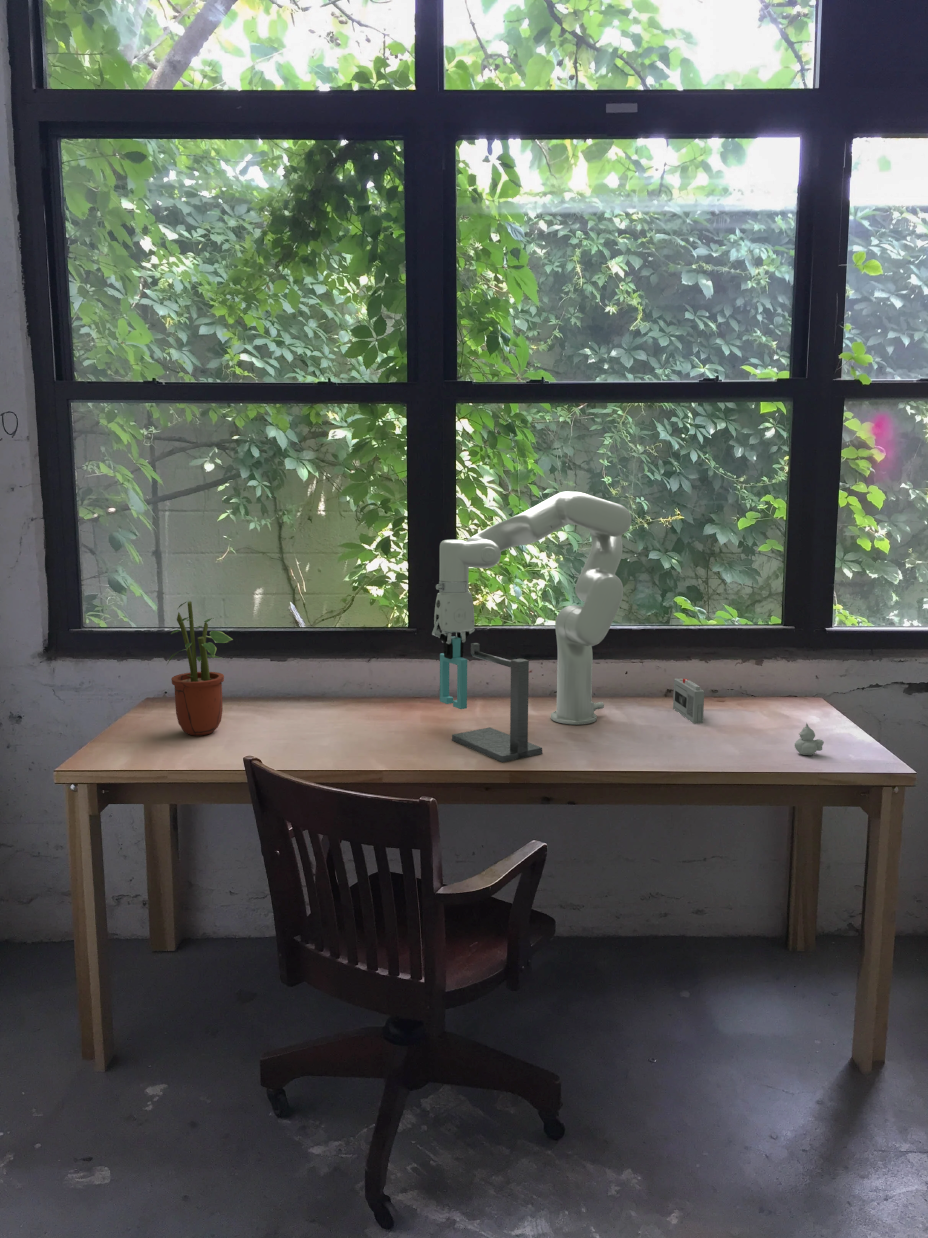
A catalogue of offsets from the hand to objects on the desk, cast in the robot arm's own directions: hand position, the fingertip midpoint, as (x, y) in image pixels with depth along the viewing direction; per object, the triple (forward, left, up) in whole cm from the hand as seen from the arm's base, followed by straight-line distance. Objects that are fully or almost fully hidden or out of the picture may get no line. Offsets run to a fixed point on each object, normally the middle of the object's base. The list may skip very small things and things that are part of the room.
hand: (453, 656), depth 236 cm
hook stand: (0, +19, -20) cm, 27 cm away
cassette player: (-62, +25, -20) cm, 70 cm away
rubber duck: (-59, +66, -20) cm, 91 cm away
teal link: (0, 0, -13) cm, 13 cm away
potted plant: (+56, -37, -20) cm, 70 cm away
